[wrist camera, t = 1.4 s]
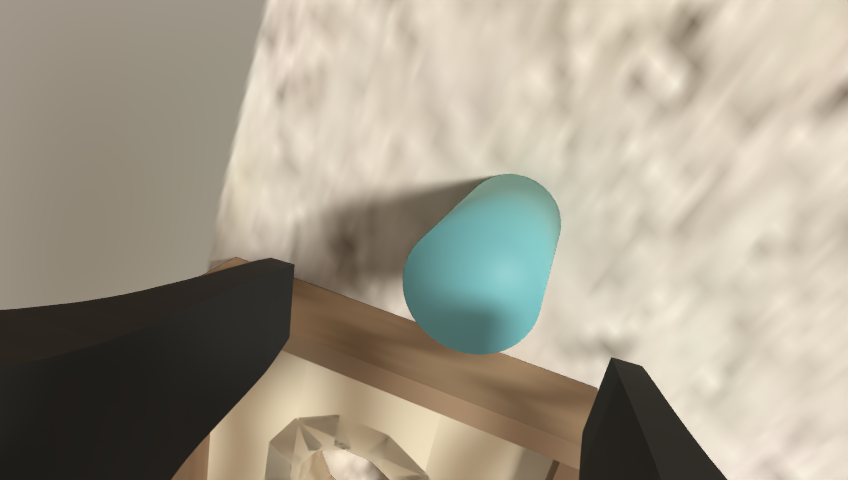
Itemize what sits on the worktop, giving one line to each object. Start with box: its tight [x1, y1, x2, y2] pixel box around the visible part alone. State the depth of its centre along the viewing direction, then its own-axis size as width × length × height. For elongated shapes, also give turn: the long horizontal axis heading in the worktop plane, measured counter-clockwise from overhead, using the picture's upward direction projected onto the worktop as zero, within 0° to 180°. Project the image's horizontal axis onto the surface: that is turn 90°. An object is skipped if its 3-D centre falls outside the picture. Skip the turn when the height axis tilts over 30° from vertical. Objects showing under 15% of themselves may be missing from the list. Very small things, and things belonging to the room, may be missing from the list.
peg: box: [403, 174, 561, 355], centre depth 18 cm, size 4×4×7 cm
